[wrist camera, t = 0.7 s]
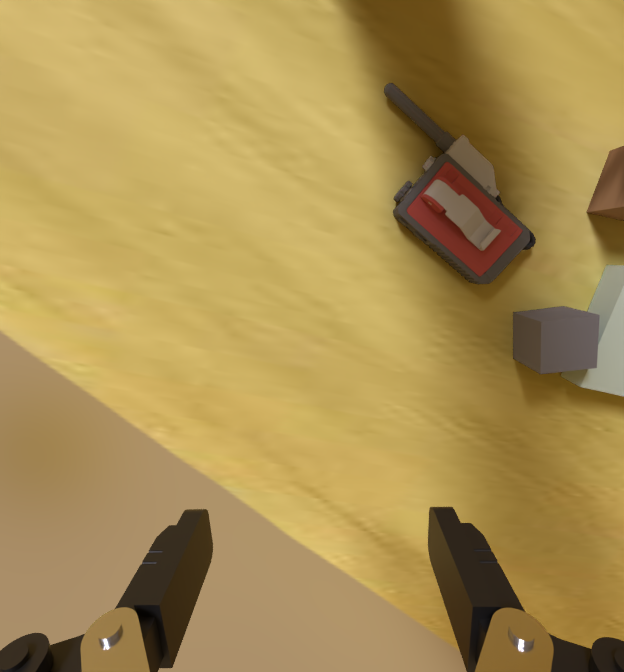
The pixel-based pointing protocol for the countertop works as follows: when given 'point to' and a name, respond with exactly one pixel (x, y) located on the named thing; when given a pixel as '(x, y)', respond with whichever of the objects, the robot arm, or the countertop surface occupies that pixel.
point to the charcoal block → (556, 339)
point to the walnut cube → (610, 188)
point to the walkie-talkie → (458, 204)
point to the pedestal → (606, 336)
